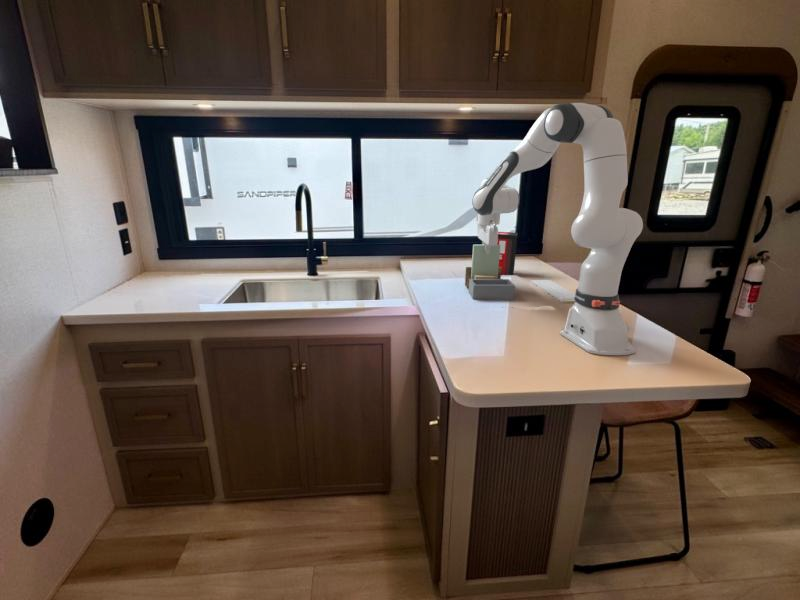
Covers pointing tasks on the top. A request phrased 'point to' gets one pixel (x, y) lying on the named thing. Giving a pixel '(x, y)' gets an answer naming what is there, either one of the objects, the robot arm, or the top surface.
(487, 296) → the bin
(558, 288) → the baseboard molding
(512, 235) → the cleaning product box
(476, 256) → the sheet
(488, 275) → the offcut upper
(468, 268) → the rack
